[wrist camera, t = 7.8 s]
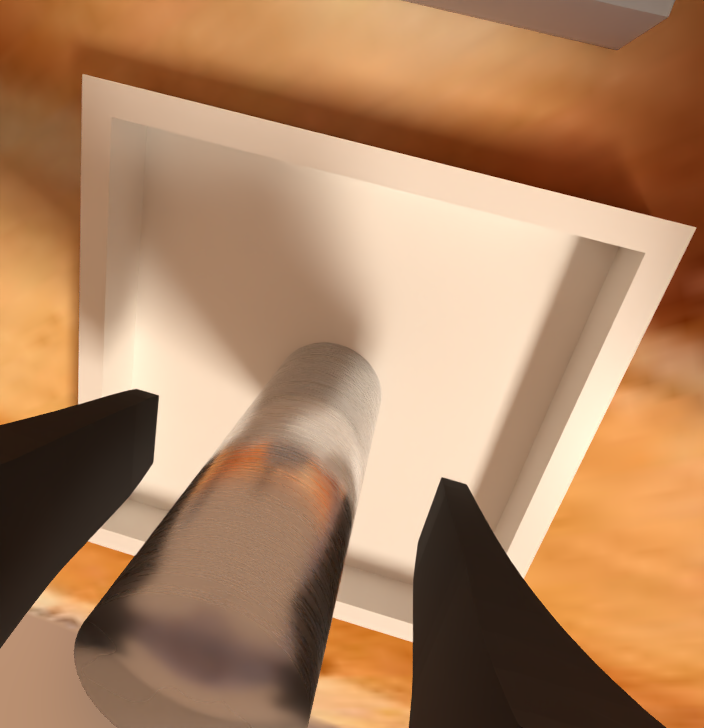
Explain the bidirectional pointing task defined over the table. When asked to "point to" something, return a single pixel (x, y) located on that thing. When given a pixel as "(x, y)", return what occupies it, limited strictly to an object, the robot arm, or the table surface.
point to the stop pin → (242, 563)
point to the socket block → (568, 16)
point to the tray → (354, 315)
